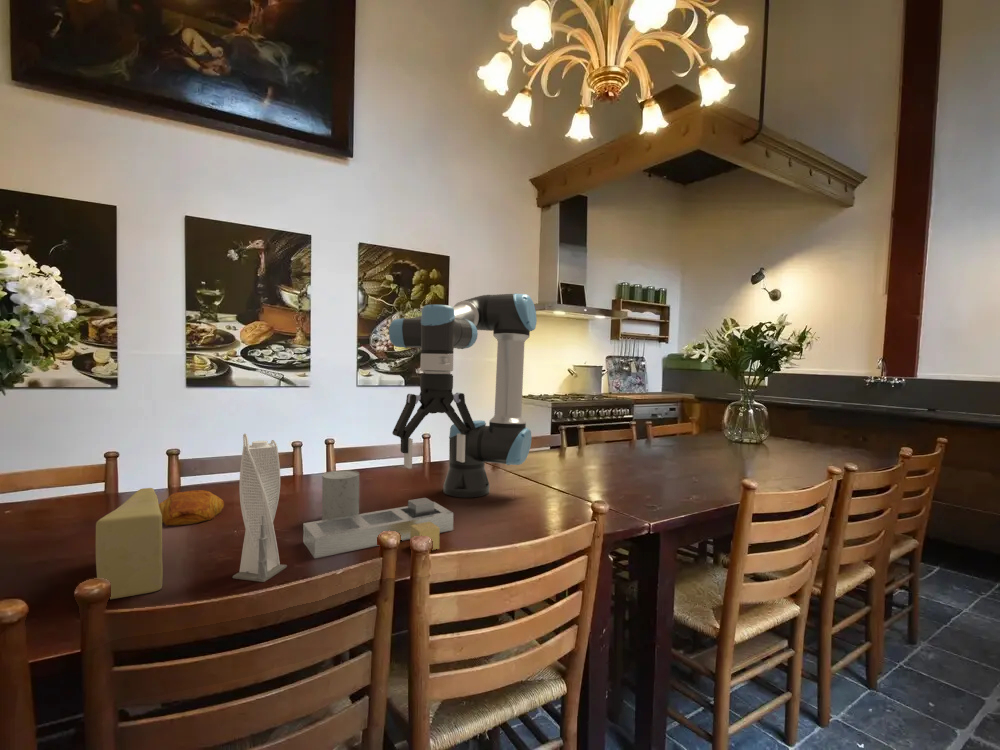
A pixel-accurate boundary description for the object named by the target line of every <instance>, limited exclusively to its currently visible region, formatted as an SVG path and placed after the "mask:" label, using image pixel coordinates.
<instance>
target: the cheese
mask: <svg viewBox="0 0 1000 750" xmlns="http://www.w3.org/2000/svg"><path fill="white" fill-rule="evenodd" d="M159 504H160V503H159V499H158V495H157V494H156V492H155V489H154V488H153V487H145V488H140V489H138V490H137V491H136V492H134V494H132V495H131V496H130V497H129V498H128V499H127V500H126V501H124V503H122V504H121V505H120V506H118V507H117V508H116V509H114V510H113V511H112V510H111V512H109V513H108V514H106V515H104V516H103V517H101V518H99V519H98V520H97V521H96V522H95V566H96V567H95V568H96V569H95V570H96V579H97V578H104V579H107V580H109V581H110V582H111V597H110V600H115V599H116V600H117V599H121V598H126V597H132V596H134V597H135V596H138V595H144V594H150V593H154V592H158V591H159V590H161V589H162V587H163V574H164V573H163V572H164V571H163V570H164V569H163V568H164V567H163V566H164V565H163V523H162V515H161V511H160V508H159Z"/></svg>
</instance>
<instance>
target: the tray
mask: <svg viewBox="0 0 1000 750" xmlns="http://www.w3.org/2000/svg"><path fill="white" fill-rule="evenodd" d="M425 522H431V523H433V524H435V525H436V526H438V527H439V528H440V534H441V533H446V532H451V531H453V530H454V512H453V511H451V510H449V509H447V508H446V507H444V506H442V505H440V504H439V503H437V502H436V501H432V500H431V499H429V498H427V497H422V498H415V499H409V500H407V506H401V507H395V508H389V509H387V508H386V509H383V510H376V511H371V512H363V513H359V514H357V515H351V516H345V517H339V518H332V519H326V520H322V519H320V520H316V521H309V522H303V524H302V525H303V527H302V528H303V530H302V531H303V532H302V533H303V535H302V536H303V538H302V539H303V541H302V542H303V544H304V545H305V547H306V548H307V550H308V551H309V552H310V554H311V556H312V557H313V558H314V559H320V558H325V557H330V556H333V555H339V554H344V553H348V552H352V551H357V550H362V549H363V550H364V549H368V548H374V547H378V546H379V545H377V537H378V535H379V534H380V533H381V532H383V531H389V530H390V531H396V532H398V533H400V535H401V540H402V541H401V542H403V541H407V540H410V529H411V525H414V524H420V523H425Z"/></svg>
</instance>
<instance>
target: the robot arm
mask: <svg viewBox="0 0 1000 750" xmlns="http://www.w3.org/2000/svg"><path fill="white" fill-rule="evenodd" d="M537 322H538V321H537V312H536V308H535V304H534V301H533V299H532V298H531V296H530V295H529V294H526V293H504V294H483V295H478V296H475V297H471V298H468V299H467V298H466V299H465V300H460V301H459V302H456V303H455V304H454V306H452V305H447V304H426V305H424V306H423V307H422V309H421V315H420V316H414V317H412V318H410V317H408V318H405V317H402V318H396V319H394V320H392V321H391V323H390V325H389V328H388V336H389V340H390V343H391V344H392V345H393V346H394V347H396V348H404V349H407V348H419V349H420V367H419V368H420V371H422V373H420V377H419V386H420V387H419V389H420V392H419V394H414V393H413V394H412V393H408V394H407V395H406V400H405V405H404V406H403V408H402V411H401V413H400V415H399V418H398V419H397V421H396V424H395V426H394V427H393V430H392V432H391V433H392V435H393V436H395V437H398V438H400V452H401V454H403V467H404V468H406V469H408V470H409V469H413V438H410V437H411V436H412V434H414V432H415V430H416V429H417V428H418V427H419V425H420V424H421V423H422V422H423V420H424V419H425V418H426V417H427V416H428V415H429V414H437V413H439V414H446V416H448V418H449V419H450V421H451V422H452V425H451V426H450V427H449V428H450V429H449V436H448V438H449V440H448V441H449V443H448V444H449V445H448V447H449V448H448V449H449V451H448V452H449V455H448V460H449V463H448V464H449V465H448V469H447V474H446V477H445V480H444V483H443V490H442V491H443V494H445V495H448V496H449V497H450V496H451V497H454V498H478V497H484V496H486V495H488V494H489V493H490V481H489V477H488V475H487V473H486V469H485V464H486V463H492V464H500V465H501V464H502V465H507V466H510V465H512V466H513V465H514V466H520V465H522V464H523V463H525V461H526V460H527V458H528V456H529V454H530V449H531V445H532V439H533V438H532V437H533V436H532V431H531V429H529V427H526V426H527V424H526V423H527V422H526V420H524V418H523V417H522V409H523V408H522V407H523V405H522V404H523V390H524V389H523V384H524V366H525V365H524V359H525V343H526V341H527V340H529V338H530V332H532V331H535V329H536V327H537ZM478 331H492V332H493V333H492V334H493V337H494V338H495V340H496V341H497V350H496V351H497V353H496V371H495V374H496V375H495V376H496V377H495V396H494V415H493V416H492V418H491V419H490V420H489V425H487V423H486V421H485V420H483V419H482V420H481V419H480V420H473V418H472V416H471V414H470V411H469V409H468V406H467V404H466V399H465V393H462V392H456V393H453V388H454V374H453V373H451V372H453V371H454V351H455V350H454V349H457V350H465V349H468V348H471V347H472V346H473V345H475V343H476V342H477V339H478V335H479V334H478ZM453 401H454V403H455V404H456V407H457V411H459V414H460V417H461V418H460V417H459V415H458V413H456V410H455V409H454V407H453V405H451V404H452V402H453ZM418 403H420V406H419V407H418V408H417V412H415V414H414V415H413V416H412V414H413V412H414V409H415V407H416V405H417V404H418ZM411 416H412V418H411ZM410 418H411V419H410Z"/></svg>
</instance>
